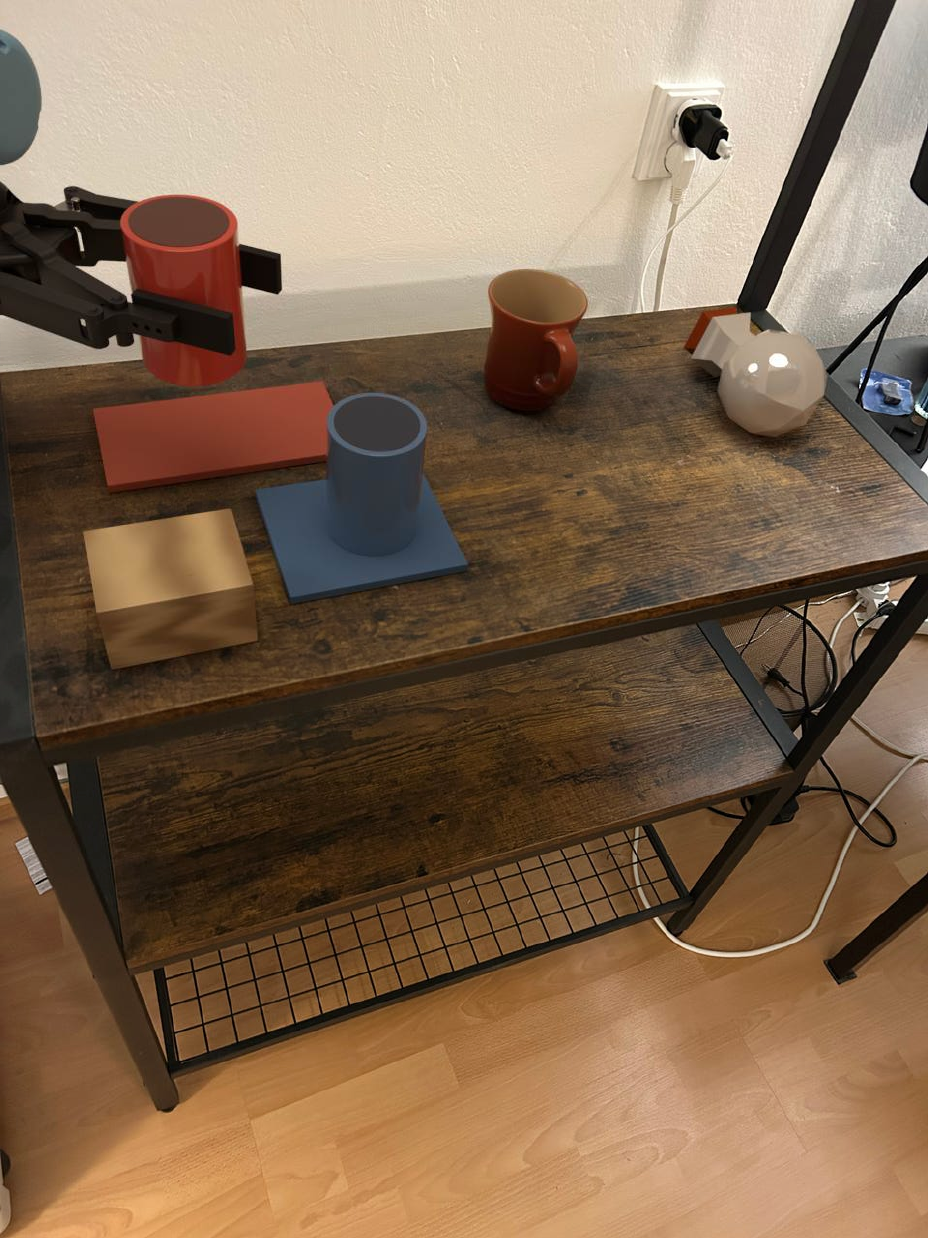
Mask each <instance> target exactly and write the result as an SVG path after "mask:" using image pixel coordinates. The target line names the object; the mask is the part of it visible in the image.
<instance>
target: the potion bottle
mask: <svg viewBox="0 0 928 1238" xmlns="http://www.w3.org/2000/svg"><path fill="white" fill-rule="evenodd" d="M751 331H752V312H743V313H738V312H737V307H736V306H735V307H727V308H720V309H719V308H718V309H717V308H716V309H710V310H709V309H708V310H702V312H701V314H700V316H699V317H698V319H697V321H696V324H695V325H694V327H693V329H692V331H691V333H690V335H689V336H688V338H687V340H686V342H685V344H684V346H683V350H686V352H688V353H689V354H691V357H690V360H692V361H693V362H695V363H696V364H697V365H698V366H700V367H701V368H702V369H703V370H705V371H706V372H707V373H708V374H710V375H711V376H712V377H713V378H717V377H719V376H720V379H719V382H718V386H717V393H718V397H719V398H720V401H721V403H722V406H723V409H724V411H725V413H726V416H727V418H729V419H730V420H731V421H732V422H734V423H735V424H736V425H738V426H739V427H741V428H742V429H743V430H745V431H746V432H748V433H751V434H754V435H760V436H765V437H772V438H776V437H779V436H781V435H784V434H786V433H788V432H791V431H793V430H796V429H798V428H800V427H802V426H805V425H806V424H807V423H808V422H809V420H810V418H812V415H813V414H814V413H815V412H816V410H817V408H818V407H819V405H820V403H821V401H822V400H823V398H824V395H825V390H826V386H827V382H828V377H829V375H828V374H827V370H826V367H825V365H824V363H823V360H822V358H821V356H820V354H819V353H818V351H817V349H815V347H814V346H813V345H811V343H810V342H808V340H807V339H805V338H804V337H803V336H802V334H796V333H790V332H786V331H781V330H775V329H770V328H768V329H766V330H764V331H762V332H760V333H758V334H756V335H755V334H754V333H753V332H751Z"/></svg>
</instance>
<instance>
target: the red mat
mask: <svg viewBox="0 0 928 1238" xmlns="http://www.w3.org/2000/svg"><path fill="white" fill-rule="evenodd" d="M334 406H335V405H334V404H333V401H332V399H331V397H330V394H329V392H328V389H327V388H326V385H325V383H324V381H323V380H321V381H313V382H304V383H296V384H288V385H287V384H286V385H280V386H279V385H277V386H271V387H263V388H253V389H244V390H239V391H230V392H229V391H228V392H222V393H213V394H204V395H195V396H187V397H180V398H172V399H164V400H155V401H147V402H138V403H130V404H121V405H113V406H104V407H98V408H96V407H95V408H93V409H92V413H93V419H94V423H95V427H96V433H97V439H98V443H99V450H100V453H101V454H100V455H101V459H102V463H103V464H102V465H103V469H104V475H105V480H106V486H107V489H108V493H111V494H112V493H119V492H127V491H132V490H138V489H145V488H152V487H160V486H167V485H172V484H181V483H187V482H194V481H200V480H207V479H214V478H221V477H228V476H234V475H241V474H247V473H254V472H262V471H263V472H264V471H268V470H269V471H270V470H276V469H284V468H289V467H296V466H303V465H304V466H305V465H309V464H310V465H311V464H317V463H323V462H326V433H327V417H328V414H329V412H330V410H331V409H332V408H333V407H334Z"/></svg>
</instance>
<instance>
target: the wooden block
mask: <svg viewBox="0 0 928 1238" xmlns="http://www.w3.org/2000/svg"><path fill="white" fill-rule="evenodd" d="M82 532H83V533H82V534H83V539H84V540H83V541H84V546H85V551H86V557H87V562H88V563H87V564H88V571H89V575H90V576H89V577H90V582H91V588H92V595H93V601H94V606H95V612H96V617H97V620H98V624H99V628H100V632H101V636H102V639H103V643H104V647H105V650H106V654H107V658H108V661H109V665H110V670H112V671H114V670H118V669H123V668H129V667H133V666H138V665H143V664H149V663H154V662H159V661H163V660H168V659H173V658H178V657H183V656H189V655H193V654H199V653H203V652H209V651H214V650H218V649H224V648H229V647H235V646H239V645H245V644H249V643H254V642H258V641H259V637H258V623H257V610H256V599H255V585H254V581H253V577H252V575H251V571H250V569H249V568H250V567H249V564H248V561H247V558H246V555H245V551H244V548H243V545H242V540H241V538H240V534H239V531H238V527H237V525H236V520H235V518H234V514H233V510H232V509H231V508H225V509H218V510H212V511H205V512H200V513H199V512H198V513H192V514H186V515H179V516H174V517H166V518H161V519H155V520H154V519H153V520H148V521H142V522H141V521H140V522H134V523H129V524H122V525H116V526H109V527H103V528H97V529H91V530H84V531H82Z"/></svg>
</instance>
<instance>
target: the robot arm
mask: <svg viewBox="0 0 928 1238" xmlns="http://www.w3.org/2000/svg"><path fill="white" fill-rule="evenodd" d="M42 95H43V94H42V87H41V81H40V76H39V73H38V70H37V67H36V64H35V63H34V60H33V58H32V57H31V55H30V53H29V51H28V50H27V49H26V47H25V46H24V45H23V43H22V42H21V41H20V40H19V39H18V38H17V37H15V36H14V35H12V34H11V33H10V32H9V31H6V30H3V29H0V166H5V165H9V164H12V163H14V162H16V161H18V160H19V159H21V158H23V156H24V155H25V154H26V153H27V152H28V151H29V149H31V147H32V145H33V143H34V141H35V139H36V136H37V135H38V134H37V133H38V132H39V131H38V130H39V121H40V116H41V115H40V114H41V111H42V107H43V97H42ZM63 195H64V199H65V200H64V201H62V202H60V203H58V204H56V205H52V204H50V203H43V202H24V201H23V200H21V199H20V198H19V197H18V196H17V195H16V194H14V193H13V192H12V191H11V189H9V187H8V186H7V185H6V184H5V183H3V182H2V181H1V180H0V316H3V317H6V318H9V319H12V320H14V321H16V322H17V321H18V322H20V323H23V324H25V325H28V326H31V327H34V328H37V329H40V330H42V331H45V332H46V333H47V332H48V333H50V334H53V335H56V336H59V337H62V338H64V339H66V340H70V341H73V342H75V343H77V344H80V345H84V346H86V347H89V348H92V349H95V350H102V349H106V348H108V347H109V346H110V339H111V338H113V337H115V339H116V345H117V346H118V347H121V348H127V347H131V346H132V345H134V344H135V337H134V335H136V336H139V335H140V336H144V337H148V338H152V339H157V340H160V341H163V342H179V343H183V344H187V345H190V346H194V347H198V348H202V349H206V350H210V351H214V352H217V353H221V354H225V355H229V356H231V355H232V354H233V353H234V351H235V350H236V348H235V336H234V323H233V313H231V312H227V311H223V310H219V309H215V308H211V307H207V306H203V305H199V304H195V303H191V302H188V301H184V300H180V299H176V298H172V297H168V296H163V295H159V294H156V293H152V292H148V291H144V290H140V289H136V290H135V291H134V292H133V293H131V294H130V297H131V301H128V297H127V295H126V294H124V293H122V292H121V291H119V290H117V289H116V288H114V287H113V286H111V285H109V284H107V283H105V282H104V281H102V280H100V279H99V278H97V277H95V276H94V275H91V274H90V273H88V272H86V271H85V270H83V269H81V268H80V267H85V268H86V267H87V268H93V267H95V266H97V264H98V263H99V262H122V263H126V257H125V251H124V245H123V239H122V233H121V227H120V220H121V217H122V215H123V213H124V212H125V211H126V210H127V209H128V208H129V207H130V206H132V205H134V204H135V203H137V202H139V201H138V200H131V199H126V198H120V197H115V196H108V195H103V194H97V193H95V192H92V191H90V190H87V189H85V188H82V187H80V186H76V185H70V186H69V185H68V186H66V187H64V188H63ZM78 233H80V237H81V242H82V243H80V238H79V234H78ZM81 244H82V247H83V248H82V247H81ZM81 249H83V250H81ZM239 249H240V263H241V277H242V287H244V288H248V289H253V290H257V291H262V292H264V293H268V294H272V295H276V296H279V295H280V293H281V292H282V290H283V277H282V254H281V253H279V252H274V251H270V250H267V249H264V248H263V249H262V248H259V247H255V246H251V245H247V244H242V243H239ZM82 320H84V324H85V325H83V324H82Z"/></svg>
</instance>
